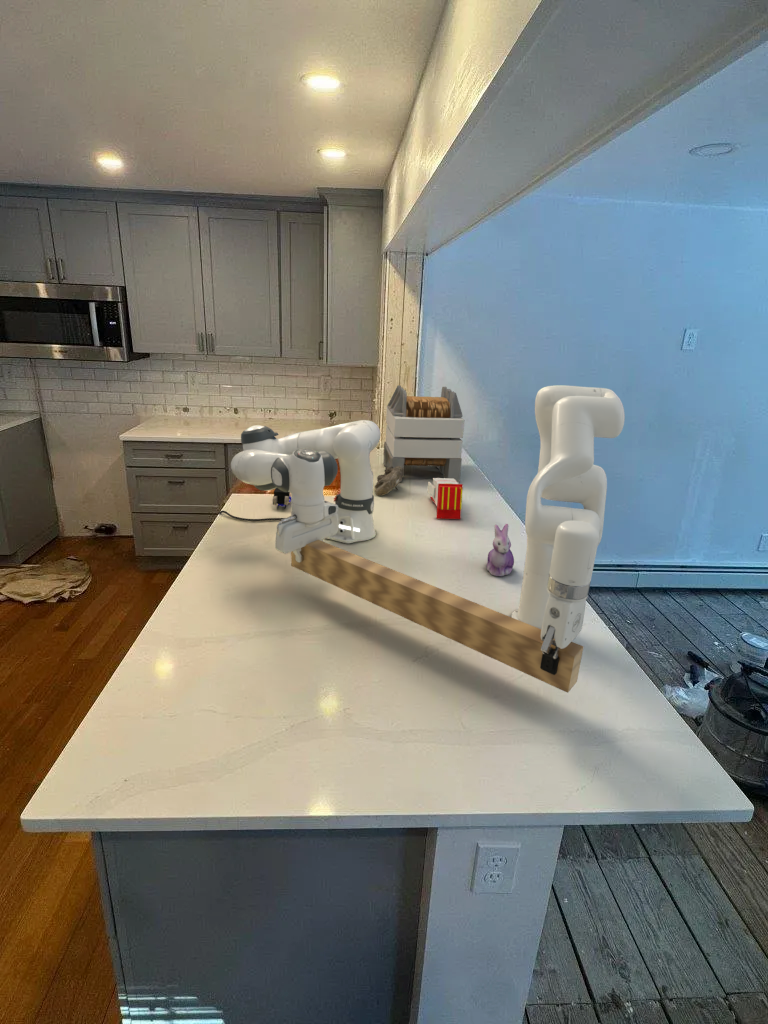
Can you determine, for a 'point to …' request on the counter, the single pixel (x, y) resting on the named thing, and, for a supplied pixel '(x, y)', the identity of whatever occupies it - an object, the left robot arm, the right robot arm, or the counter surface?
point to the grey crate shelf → (424, 432)
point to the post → (441, 612)
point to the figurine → (500, 553)
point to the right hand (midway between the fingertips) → (554, 664)
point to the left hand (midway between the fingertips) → (308, 557)
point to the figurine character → (281, 498)
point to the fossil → (388, 480)
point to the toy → (446, 497)
